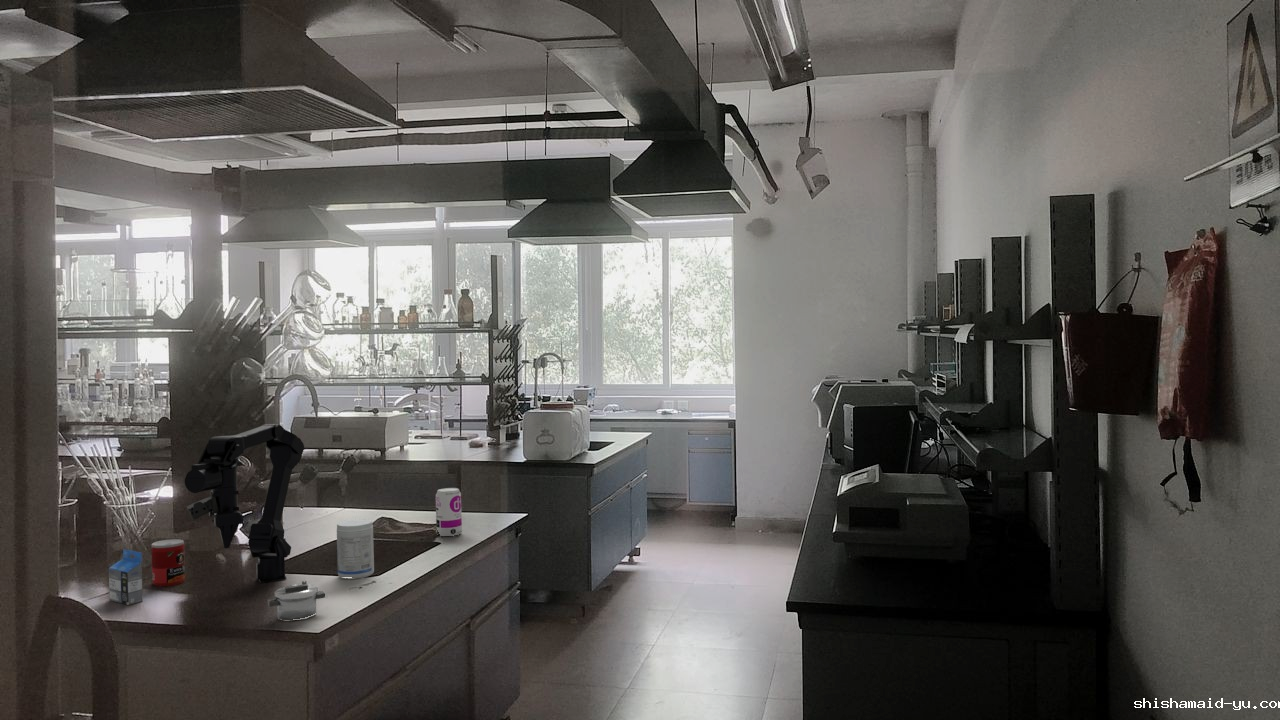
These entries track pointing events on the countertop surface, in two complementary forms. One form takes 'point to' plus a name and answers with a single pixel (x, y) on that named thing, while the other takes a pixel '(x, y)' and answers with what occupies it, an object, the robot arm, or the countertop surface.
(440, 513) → the supplement can
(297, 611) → the pot
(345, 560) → the supplement tub
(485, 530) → the countertop surface
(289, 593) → the lid
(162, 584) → the canned food
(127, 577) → the blue and grey carton
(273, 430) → the robot arm
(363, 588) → the countertop surface
